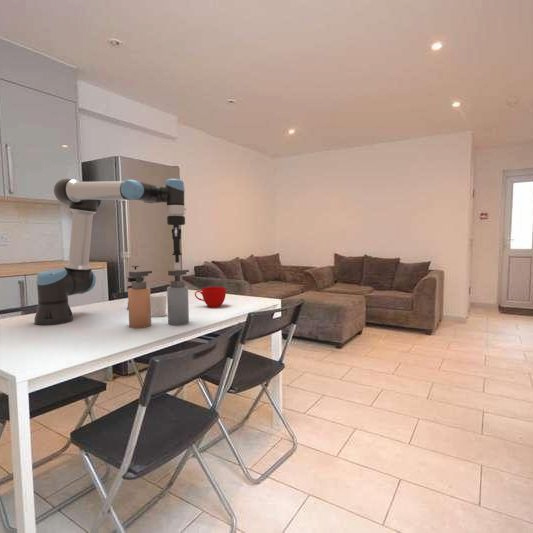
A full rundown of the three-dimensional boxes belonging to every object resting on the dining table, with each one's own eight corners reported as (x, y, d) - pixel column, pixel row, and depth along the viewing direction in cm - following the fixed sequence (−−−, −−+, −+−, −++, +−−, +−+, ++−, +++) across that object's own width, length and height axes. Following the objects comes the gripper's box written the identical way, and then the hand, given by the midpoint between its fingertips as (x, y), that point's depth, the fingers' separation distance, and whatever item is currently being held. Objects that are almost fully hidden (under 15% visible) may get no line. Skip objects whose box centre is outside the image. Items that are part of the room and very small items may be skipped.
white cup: (148, 314, 176) (148, 294, 175) (165, 313, 180) (164, 293, 179) (151, 317, 169) (150, 296, 168) (168, 316, 173) (167, 295, 172)
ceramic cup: (195, 305, 202) (194, 287, 201) (225, 303, 205) (225, 286, 204) (194, 309, 189) (194, 290, 188) (226, 308, 192) (226, 289, 192)
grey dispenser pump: (136, 289, 149) (135, 272, 149) (129, 288, 151) (128, 271, 151) (154, 286, 157) (154, 270, 157) (148, 285, 160) (147, 270, 159)
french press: (122, 308, 191) (121, 266, 189) (136, 306, 199) (135, 264, 198) (138, 310, 186) (137, 266, 184) (151, 307, 194) (150, 265, 192)
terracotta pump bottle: (138, 328, 148) (136, 283, 147) (124, 326, 153) (123, 282, 151) (155, 324, 155) (154, 281, 154) (142, 322, 160) (141, 280, 159)
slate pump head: (175, 287, 153) (175, 271, 153) (168, 286, 156) (168, 270, 155) (191, 284, 161) (191, 269, 161) (184, 284, 164) (184, 269, 163)
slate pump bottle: (177, 326, 152) (176, 282, 151) (163, 323, 157) (162, 280, 156) (193, 322, 160) (192, 279, 158) (178, 319, 165) (178, 278, 163)
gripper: (184, 214, 149) (186, 270, 151) (185, 216, 162) (186, 268, 164) (166, 214, 148) (167, 271, 149) (168, 216, 160) (169, 269, 162)
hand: (177, 269), depth 157 cm, fingers closed
